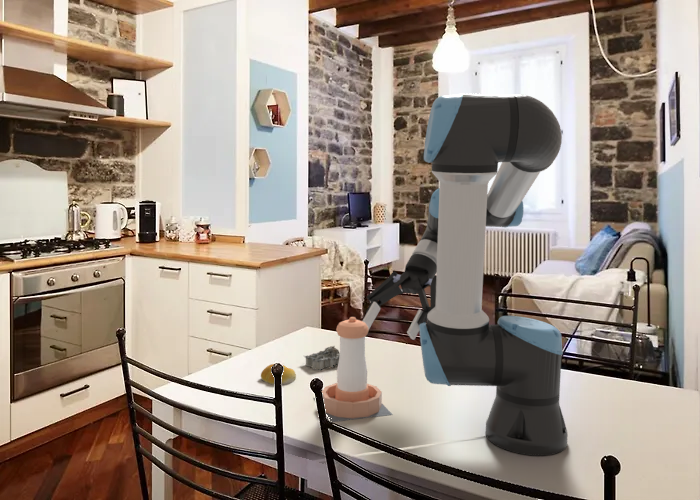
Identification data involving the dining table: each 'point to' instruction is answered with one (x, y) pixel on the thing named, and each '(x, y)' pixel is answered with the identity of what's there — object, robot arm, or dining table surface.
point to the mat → (382, 412)
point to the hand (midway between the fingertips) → (386, 331)
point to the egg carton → (323, 358)
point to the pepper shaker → (352, 361)
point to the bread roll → (286, 377)
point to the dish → (352, 403)
